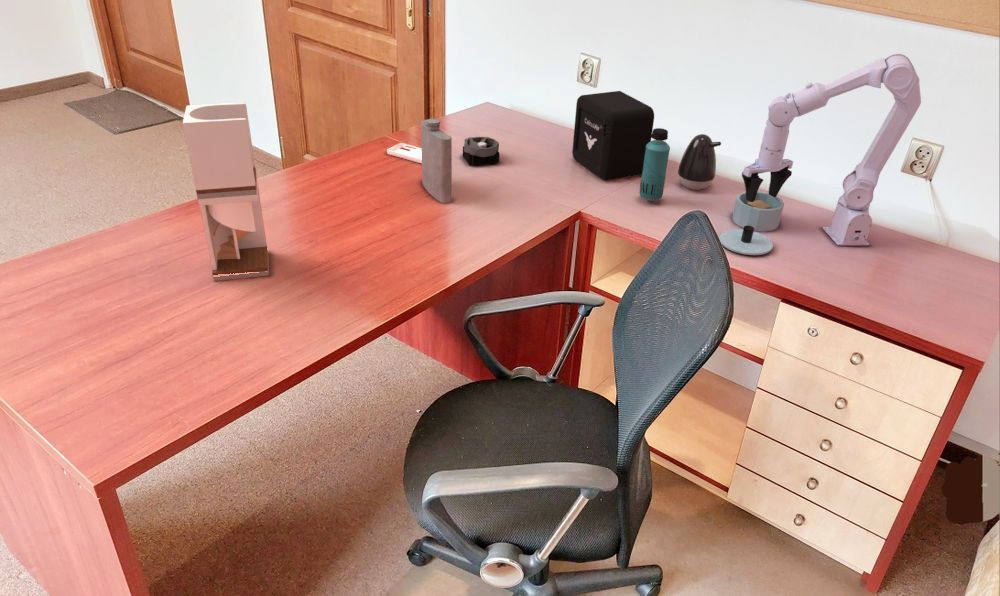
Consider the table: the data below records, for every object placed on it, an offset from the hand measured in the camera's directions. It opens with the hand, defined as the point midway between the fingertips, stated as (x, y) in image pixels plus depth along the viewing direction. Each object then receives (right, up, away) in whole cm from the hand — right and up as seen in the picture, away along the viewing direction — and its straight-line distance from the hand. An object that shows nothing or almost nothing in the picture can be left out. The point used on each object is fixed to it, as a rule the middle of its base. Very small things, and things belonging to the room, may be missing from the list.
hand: (761, 198), depth 193 cm
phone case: (-92, +17, +34) cm, 100 cm away
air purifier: (-35, +13, +31) cm, 49 cm away
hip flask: (-84, +3, +13) cm, 85 cm away
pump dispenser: (-11, +6, +22) cm, 25 cm away
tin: (0, -6, +3) cm, 7 cm away
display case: (-124, -19, -25) cm, 128 cm away
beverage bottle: (-26, +1, +12) cm, 29 cm away
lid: (-7, -12, -8) cm, 16 cm away
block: (0, -5, +3) cm, 6 cm away
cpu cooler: (-72, +16, +33) cm, 81 cm away
